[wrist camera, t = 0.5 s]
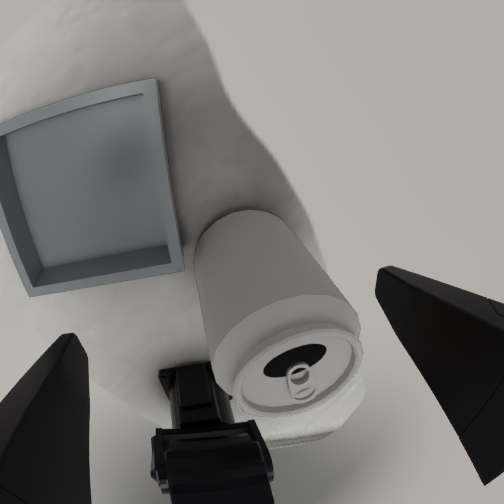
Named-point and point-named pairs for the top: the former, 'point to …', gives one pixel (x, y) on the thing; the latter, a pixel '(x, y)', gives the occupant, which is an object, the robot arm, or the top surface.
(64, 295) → the top surface
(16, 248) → the bin
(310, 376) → the can
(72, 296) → the top surface
